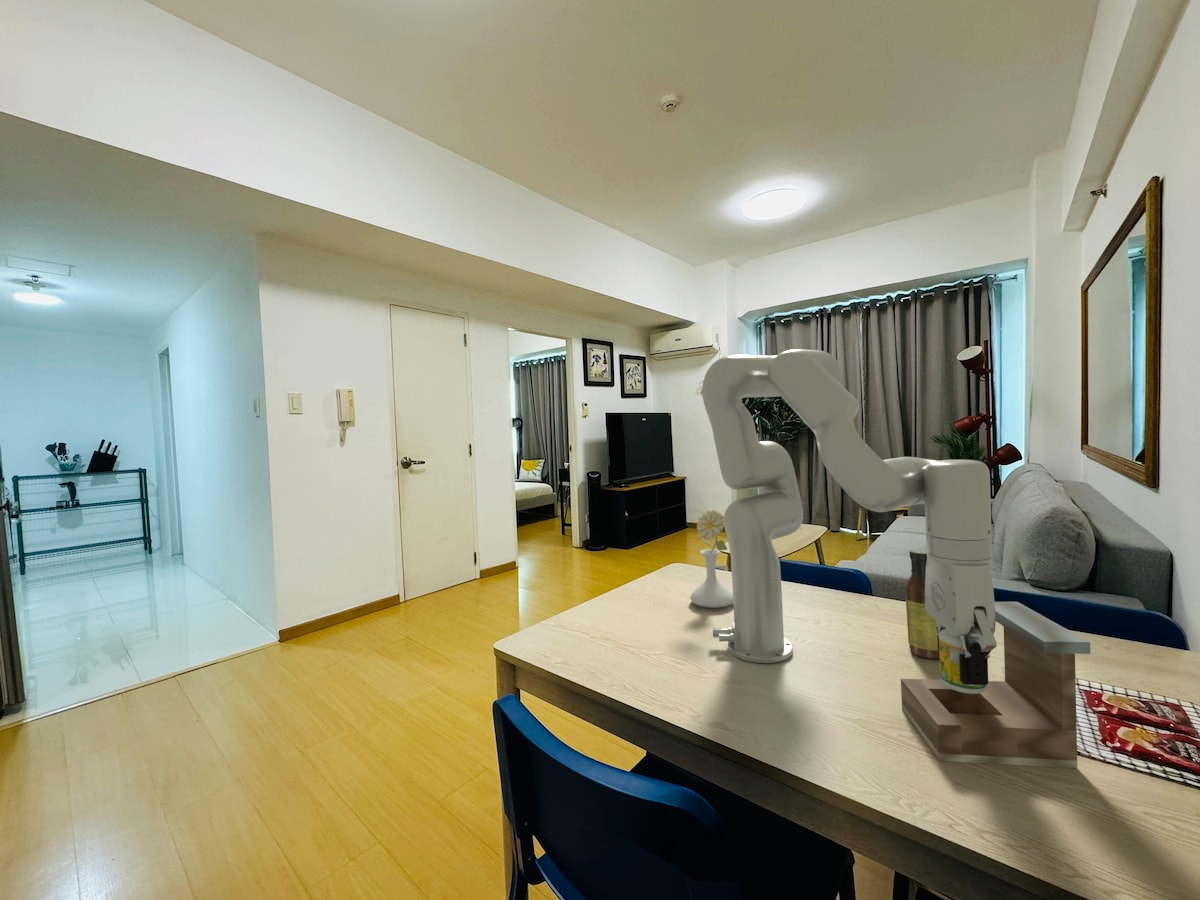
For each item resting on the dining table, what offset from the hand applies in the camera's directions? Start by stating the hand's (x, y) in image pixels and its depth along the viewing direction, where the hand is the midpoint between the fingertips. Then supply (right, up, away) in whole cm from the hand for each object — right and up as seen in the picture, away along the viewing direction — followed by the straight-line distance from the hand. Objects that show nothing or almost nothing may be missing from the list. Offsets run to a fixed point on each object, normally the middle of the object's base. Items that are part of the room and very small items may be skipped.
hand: (961, 671), depth 71 cm
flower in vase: (-22, -8, +57) cm, 61 cm away
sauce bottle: (+11, -8, +25) cm, 28 cm away
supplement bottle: (0, -2, 0) cm, 2 cm away
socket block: (+3, -9, 0) cm, 10 cm away
